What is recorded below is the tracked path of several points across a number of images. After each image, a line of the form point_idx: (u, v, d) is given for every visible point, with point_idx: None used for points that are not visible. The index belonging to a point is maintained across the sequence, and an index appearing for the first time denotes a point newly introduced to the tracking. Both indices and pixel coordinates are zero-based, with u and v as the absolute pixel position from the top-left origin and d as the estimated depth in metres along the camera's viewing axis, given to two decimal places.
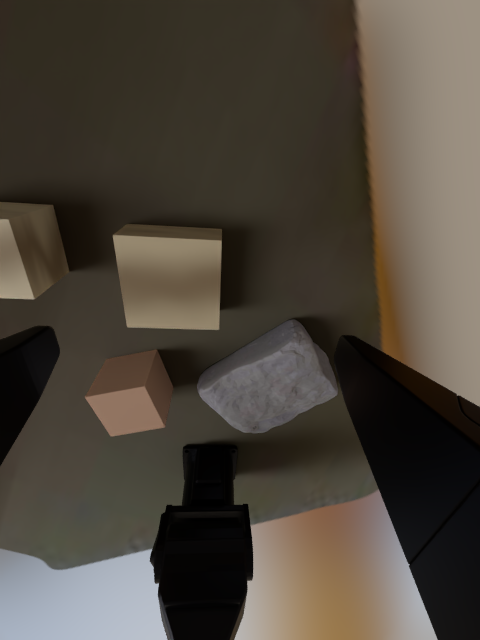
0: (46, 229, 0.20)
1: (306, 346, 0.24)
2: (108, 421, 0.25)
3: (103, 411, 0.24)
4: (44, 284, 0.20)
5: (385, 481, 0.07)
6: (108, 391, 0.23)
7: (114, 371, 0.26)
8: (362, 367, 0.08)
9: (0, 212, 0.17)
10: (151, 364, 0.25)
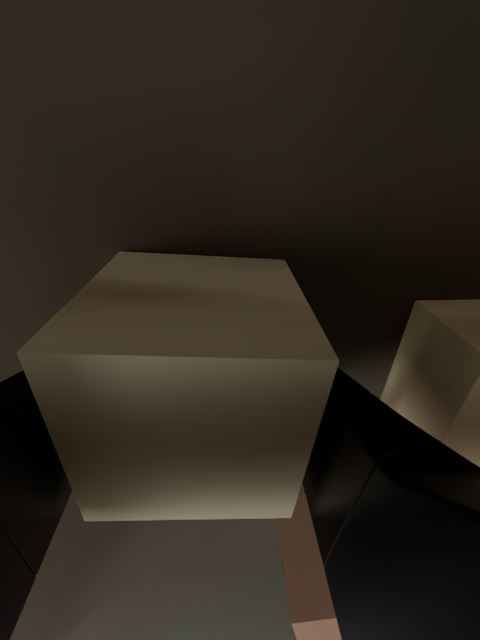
0: None
1: None
2: None
3: (311, 634, 0.13)
4: None
5: (308, 481, 0.07)
6: None
7: (312, 539, 0.14)
8: None
9: (244, 309, 0.06)
10: None
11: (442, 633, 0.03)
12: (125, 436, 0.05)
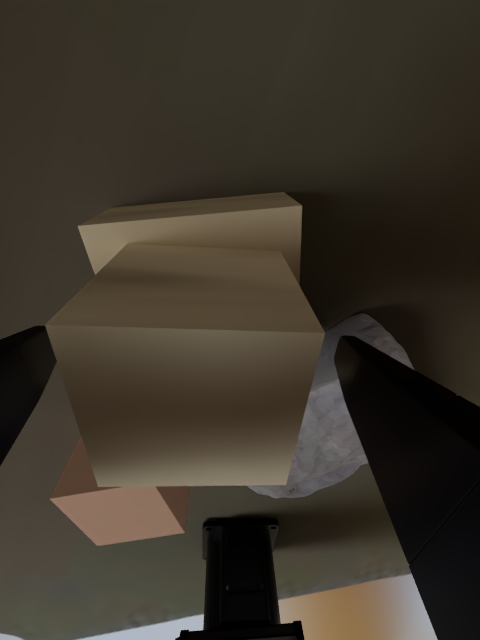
0: None
1: None
2: (92, 528, 0.15)
3: (83, 516, 0.14)
4: None
5: (385, 481, 0.07)
6: (90, 487, 0.14)
7: None
8: (362, 367, 0.08)
9: (242, 292, 0.07)
10: None
11: None
12: (136, 403, 0.06)
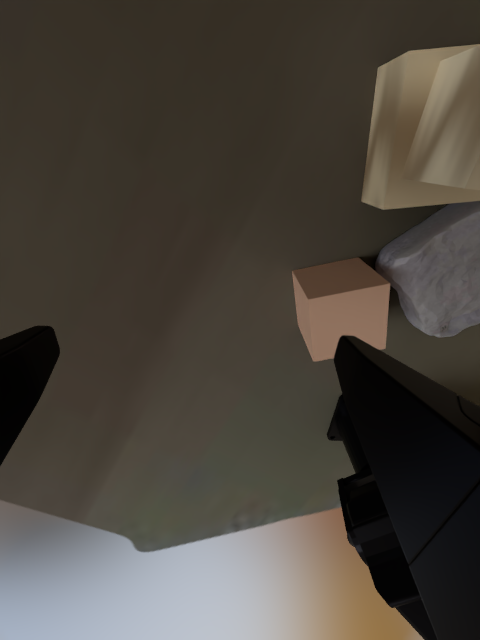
0: None
1: None
2: (320, 338, 0.19)
3: (321, 322, 0.19)
4: None
5: (385, 481, 0.07)
6: (338, 291, 0.18)
7: (321, 277, 0.20)
8: (362, 367, 0.08)
9: None
10: (369, 267, 0.20)
11: None
12: None
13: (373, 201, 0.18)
